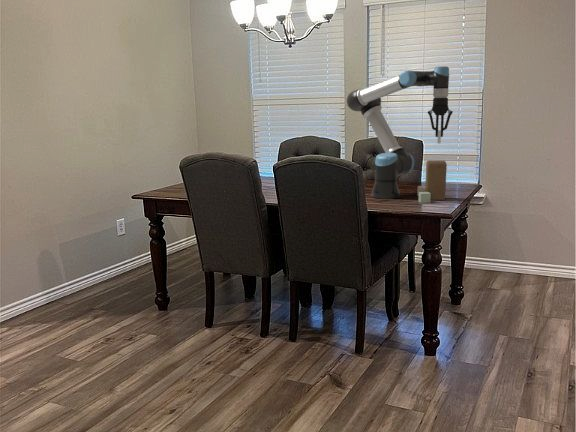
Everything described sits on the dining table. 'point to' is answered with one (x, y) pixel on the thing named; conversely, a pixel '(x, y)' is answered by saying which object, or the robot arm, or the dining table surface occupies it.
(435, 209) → the dining table surface
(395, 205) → the dining table surface
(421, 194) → the sage cube
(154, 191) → the dining table surface
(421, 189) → the cream cube
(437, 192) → the wooden block
